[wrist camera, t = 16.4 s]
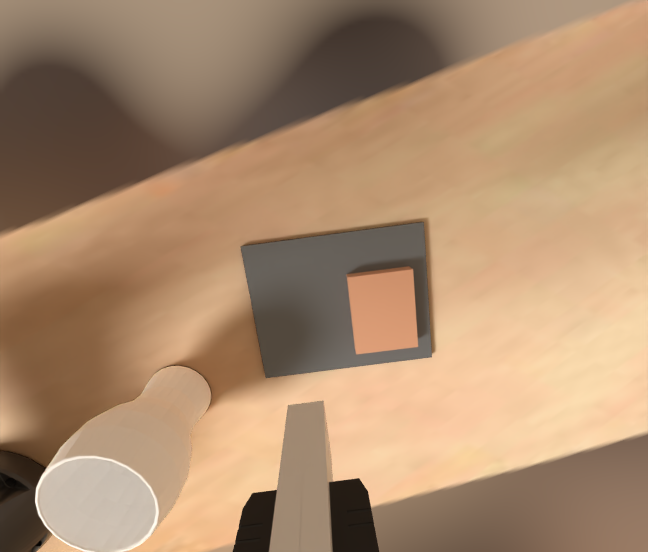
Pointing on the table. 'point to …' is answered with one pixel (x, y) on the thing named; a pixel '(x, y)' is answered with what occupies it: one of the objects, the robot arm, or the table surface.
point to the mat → (328, 296)
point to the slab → (383, 310)
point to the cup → (124, 466)
